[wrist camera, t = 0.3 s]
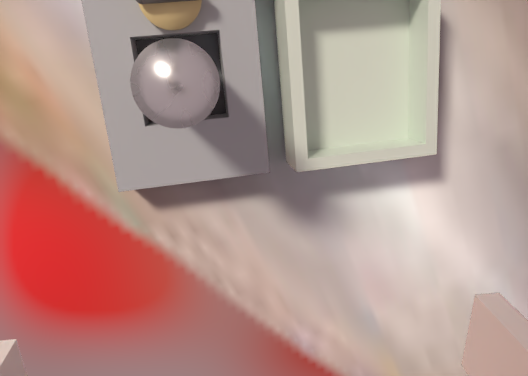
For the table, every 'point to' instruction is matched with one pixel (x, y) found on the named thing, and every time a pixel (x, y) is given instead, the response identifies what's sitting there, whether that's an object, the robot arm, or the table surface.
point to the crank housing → (191, 138)
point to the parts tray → (358, 80)
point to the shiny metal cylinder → (175, 83)
